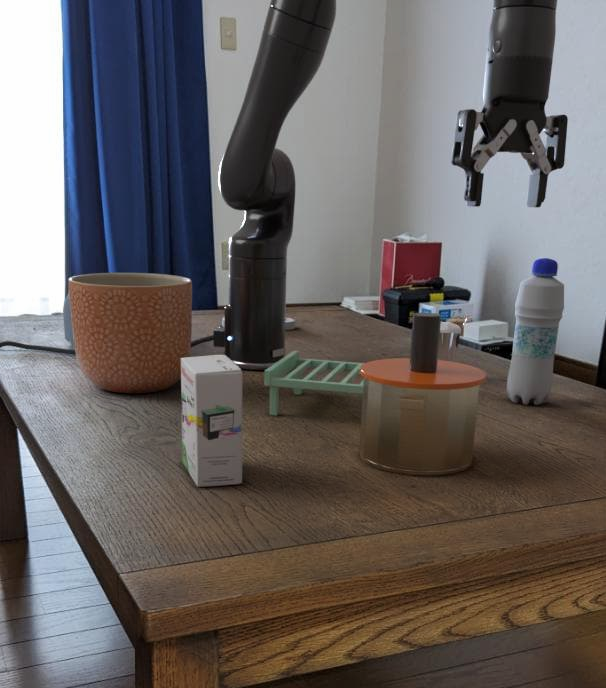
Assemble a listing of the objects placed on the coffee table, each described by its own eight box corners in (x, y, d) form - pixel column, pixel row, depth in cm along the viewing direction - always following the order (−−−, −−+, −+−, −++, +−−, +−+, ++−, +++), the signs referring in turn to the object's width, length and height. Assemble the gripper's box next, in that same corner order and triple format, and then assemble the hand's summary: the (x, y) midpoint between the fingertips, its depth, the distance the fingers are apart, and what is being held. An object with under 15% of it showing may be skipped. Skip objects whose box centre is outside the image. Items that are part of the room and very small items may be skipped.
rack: (263, 415, 118) (264, 370, 116) (292, 391, 132) (293, 350, 129) (377, 426, 115) (380, 380, 112) (395, 400, 128) (398, 358, 126)
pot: (345, 476, 95) (350, 387, 92) (374, 433, 112) (379, 356, 108) (465, 488, 93) (474, 398, 89) (476, 443, 109) (484, 365, 105)
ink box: (180, 463, 98) (178, 354, 93) (225, 460, 99) (225, 353, 95) (196, 488, 90) (194, 371, 86) (243, 485, 92) (244, 370, 87)
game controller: (294, 325, 188) (294, 316, 188) (296, 335, 177) (296, 326, 176) (223, 323, 188) (223, 314, 187) (219, 334, 176) (219, 324, 175)
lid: (348, 388, 94) (352, 318, 91) (370, 364, 107) (374, 302, 104) (481, 400, 91) (489, 328, 88) (488, 374, 104) (495, 310, 101)
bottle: (552, 399, 132) (572, 257, 125) (548, 409, 126) (569, 261, 119) (506, 394, 134) (523, 254, 127) (500, 404, 128) (518, 258, 121)
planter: (158, 405, 121) (154, 289, 115) (51, 391, 126) (42, 280, 121) (212, 381, 136) (212, 277, 130) (115, 370, 141) (110, 270, 136)
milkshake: (460, 384, 140) (467, 319, 136) (426, 382, 141) (431, 317, 137) (461, 378, 144) (468, 315, 140) (428, 376, 145) (433, 313, 141)
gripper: (552, 64, 109) (535, 206, 115) (448, 55, 104) (437, 204, 110) (591, 57, 102) (571, 209, 108) (482, 48, 98) (468, 207, 104)
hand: (503, 206), depth 109 cm, fingers open, 8 cm apart
